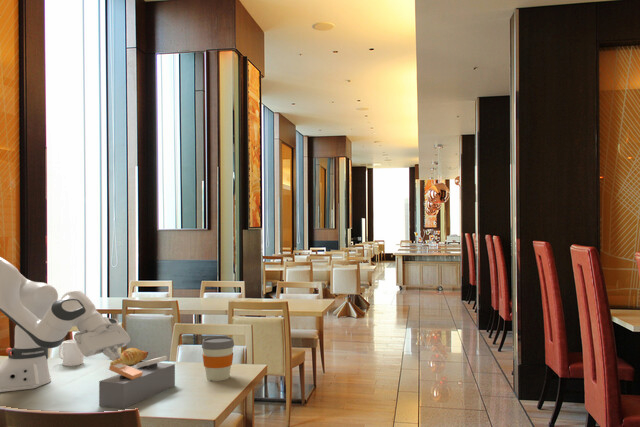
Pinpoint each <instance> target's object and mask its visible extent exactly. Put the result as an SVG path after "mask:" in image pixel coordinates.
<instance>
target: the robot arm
mask: <svg viewBox="0 0 640 427" xmlns="http://www.w3.org/2000/svg"><path fill="white" fill-rule="evenodd" d="M58 299H59V294H58V291H57V289H56V288H55V287H54V286H52V285H50V284H49V283H46V282H42V281H41V282H40V281H33V280H30V279H28V278H26V277H25V276H24V275H23V274H21V272H20V271H19V269H18V268H17V267H16V266H15V265H14V264H12V263H11V262H9V261H8V260H6V259H5V258H4V257H1V256H0V313H2V314H3V315H4V316H6V317H7V318H8V319H9V320H10V321H12V322H13V323H14V324H15V327H14V347H13V348H11V347H7V348H6V354H8V358H7V359H6V360H5V361H3V362H2V363H1V364H0V393H3V392H12V391H13V392H14V391H22V390H31V389H36V388H38V387H41V386H43V385H47V384H49V383H50V382H52V378H51V375H50V370H49V362H48V360H49V349H55V348H58V347H60V345H61V344H62V343H63V342H64V341H65V339H66V337H67V335H68V333H69V332H70V330H71V329H72V327H76V328H77V331H78V332H75V334H74V335H73V340H76V343H77V346H78V348H79V349H80V351H81V353H82V354H83V357H86V358H88V357H92V356H95V355H99V354H103V355H105V356H106V357H108V358H109V359H110V360H111V362H113V361H114V360H117V359H119V358H120V357H121V355H120V354H121V353H120V352H119V349H121V348H124V347H126V346H127V345H128V344H129V342H130V341H131V337H130V335H129V334H128V332H127V331H126V330H125V329H124V327H123V326H121V325H119V324H120V323H119V320H118V319H116V318H111V317H110V318H109V317H107V316H103V315H102V313H100V312H99V311H98V310H97V308H96V305H95V304H94V302H92V300H91V298H89V297H88V296H87V295H86V294H85V293H84V292H82V291H81V290H78V289H74V290H70V291H68V292H66V293H64V294H63V295H62V297H60V299H59V300H58Z"/></svg>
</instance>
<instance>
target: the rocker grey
mask: <svg viewBox="0 0 640 427" xmlns="http://www.w3.org/2000/svg"><path fill="white" fill-rule="evenodd" d="M167 360H168V356H167V355H164V356H160V357H156V358H152V359H151V358H150V359H148V360H142V361H141V362H139V363H137V364H135V365H137V368H138V367H142V366H147V365H151V364H155V363H163V362H164V361H167Z"/></svg>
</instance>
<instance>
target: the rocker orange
mask: <svg viewBox="0 0 640 427" xmlns="http://www.w3.org/2000/svg"><path fill="white" fill-rule="evenodd" d="M132 367H133V366H131V365H129V366H127V365H125V364H122V363H117V364H114V365H109V369H108V370H109V371H111V372H113V373H116V374H117V375H118V374H120V375H122V376H125V377H127V378H129V379H132V380H133V379H135V378H138V377H140V376H142V374H143V372H142V371H139V370H137V369H134V368H132Z"/></svg>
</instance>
